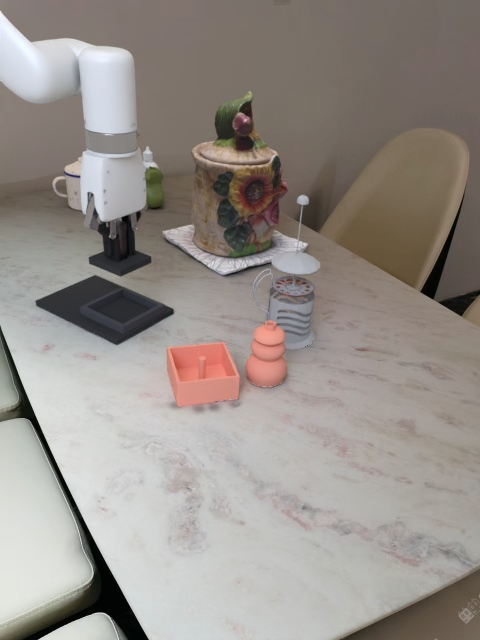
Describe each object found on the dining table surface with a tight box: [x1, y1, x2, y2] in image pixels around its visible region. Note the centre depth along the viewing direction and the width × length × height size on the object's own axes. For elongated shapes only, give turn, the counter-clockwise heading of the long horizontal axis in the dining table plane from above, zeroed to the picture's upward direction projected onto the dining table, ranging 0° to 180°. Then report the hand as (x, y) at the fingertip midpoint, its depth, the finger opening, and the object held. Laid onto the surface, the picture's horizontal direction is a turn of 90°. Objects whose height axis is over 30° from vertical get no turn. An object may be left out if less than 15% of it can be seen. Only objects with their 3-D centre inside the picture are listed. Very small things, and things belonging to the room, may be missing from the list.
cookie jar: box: [162, 91, 309, 276], centre depth 126 cm, size 25×25×32 cm
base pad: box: [35, 274, 175, 346], centre depth 106 cm, size 20×14×2 cm
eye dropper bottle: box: [142, 146, 159, 171], centre depth 156 cm, size 4×6×12 cm
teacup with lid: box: [51, 156, 82, 212], centre depth 144 cm, size 12×9×12 cm
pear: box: [145, 166, 165, 209], centre depth 148 cm, size 6×5×10 cm
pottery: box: [166, 320, 288, 408], centre depth 89 cm, size 18×10×10 cm, turn 107°
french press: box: [252, 194, 321, 351], centre depth 98 cm, size 10×12×25 cm
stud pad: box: [88, 219, 153, 278], centre depth 97 cm, size 7×7×7 cm
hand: (119, 254), depth 99 cm, fingers closed on stud pad, 2 cm apart
